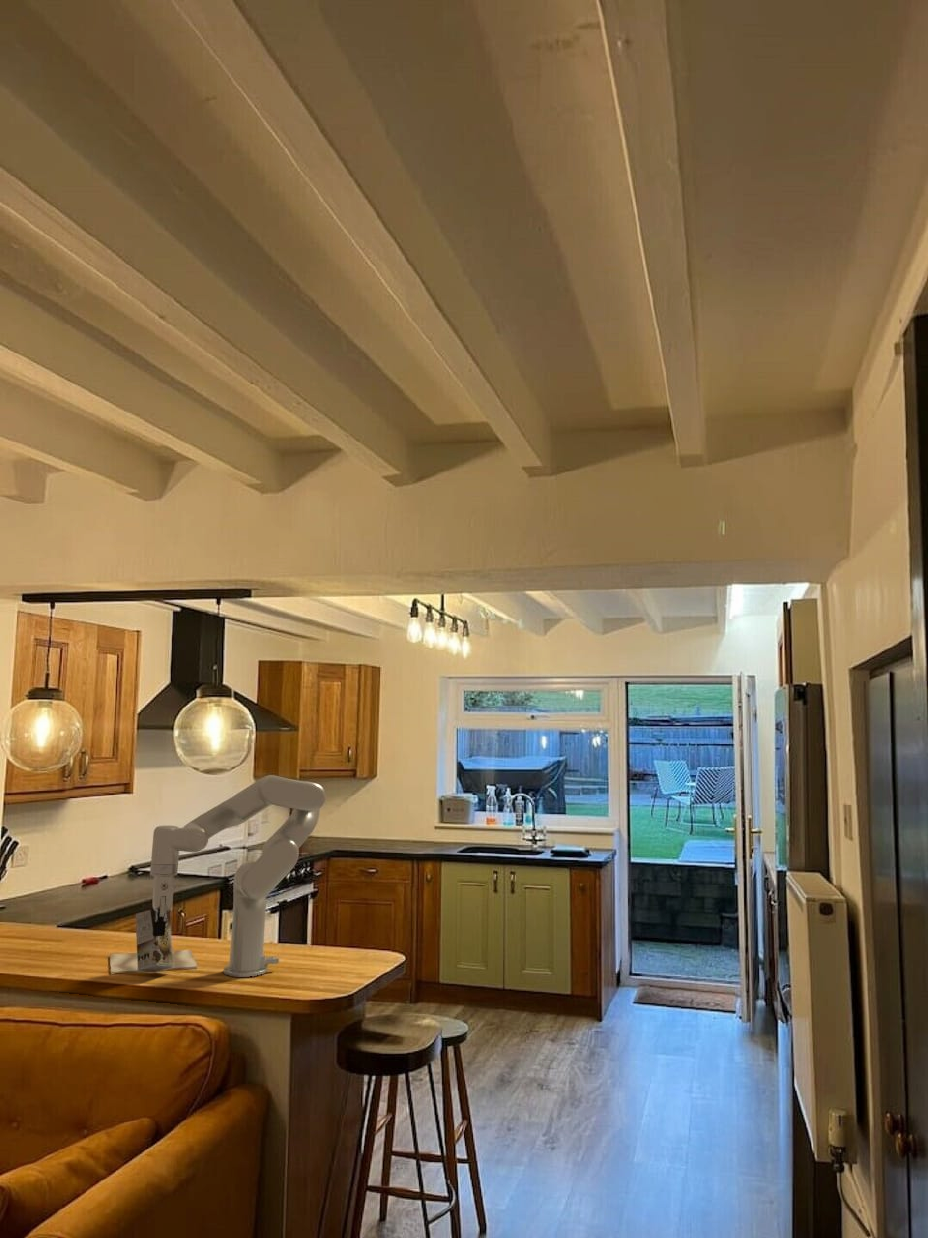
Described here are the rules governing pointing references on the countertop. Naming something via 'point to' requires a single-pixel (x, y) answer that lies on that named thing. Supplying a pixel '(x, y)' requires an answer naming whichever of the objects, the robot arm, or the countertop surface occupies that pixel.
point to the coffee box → (153, 943)
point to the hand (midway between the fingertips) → (158, 935)
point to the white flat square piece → (130, 965)
